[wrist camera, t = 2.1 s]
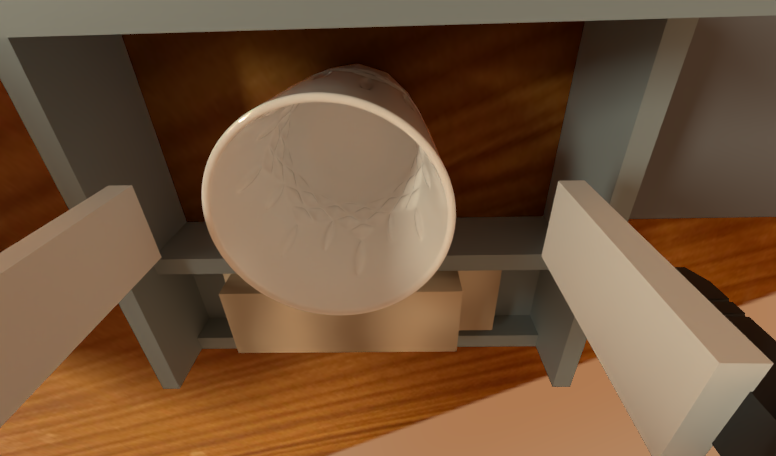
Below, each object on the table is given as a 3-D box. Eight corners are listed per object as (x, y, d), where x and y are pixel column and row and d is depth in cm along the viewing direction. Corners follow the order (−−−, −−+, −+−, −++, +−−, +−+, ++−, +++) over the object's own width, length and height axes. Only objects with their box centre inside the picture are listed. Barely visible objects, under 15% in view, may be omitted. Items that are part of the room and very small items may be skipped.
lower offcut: (250, 312, 26) (241, 332, 24) (233, 252, 23) (221, 270, 22) (486, 310, 25) (492, 329, 24) (495, 248, 23) (502, 266, 21)
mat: (618, 214, 23) (622, 219, 22) (688, 3, 17) (695, 3, 17) (804, 211, 22) (812, 216, 22) (939, -5, 17) (953, -5, 16)
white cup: (448, 168, 21) (485, 279, 13) (325, 213, 23) (284, 339, 14) (397, 22, 18) (402, 42, 9) (254, 88, 19) (143, 157, 11)
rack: (206, 316, 28) (94, 503, 17) (84, -9, 17) (-381, -26, 7) (536, 313, 27) (624, 505, 17) (618, -27, 17) (986, -73, 6)
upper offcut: (248, 330, 24) (238, 353, 22) (231, 273, 22) (218, 294, 20) (452, 328, 24) (456, 351, 22) (457, 270, 21) (462, 291, 20)
